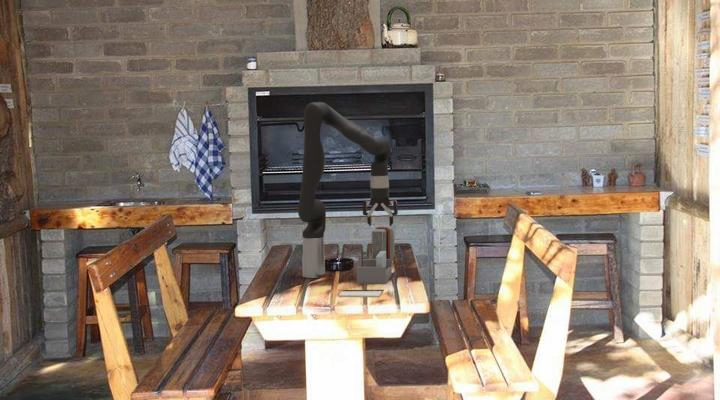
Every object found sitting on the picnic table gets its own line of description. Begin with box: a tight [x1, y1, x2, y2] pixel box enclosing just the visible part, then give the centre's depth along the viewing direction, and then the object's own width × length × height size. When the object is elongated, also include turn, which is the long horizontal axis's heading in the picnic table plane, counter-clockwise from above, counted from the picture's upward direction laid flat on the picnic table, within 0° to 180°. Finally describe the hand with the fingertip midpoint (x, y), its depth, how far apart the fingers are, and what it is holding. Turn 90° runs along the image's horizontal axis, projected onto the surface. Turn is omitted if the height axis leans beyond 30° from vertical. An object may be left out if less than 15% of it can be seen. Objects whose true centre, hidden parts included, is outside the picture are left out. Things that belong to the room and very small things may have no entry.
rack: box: [355, 258, 393, 285], centre depth 374 cm, size 12×18×8 cm, turn 171°
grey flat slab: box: [376, 251, 386, 267], centre depth 373 cm, size 2×13×12 cm, turn 170°
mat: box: [338, 289, 385, 298], centre depth 354 cm, size 16×14×1 cm
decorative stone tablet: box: [371, 226, 396, 266], centre depth 402 cm, size 19×6×30 cm
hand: (380, 225), depth 371 cm, fingers open, 8 cm apart
